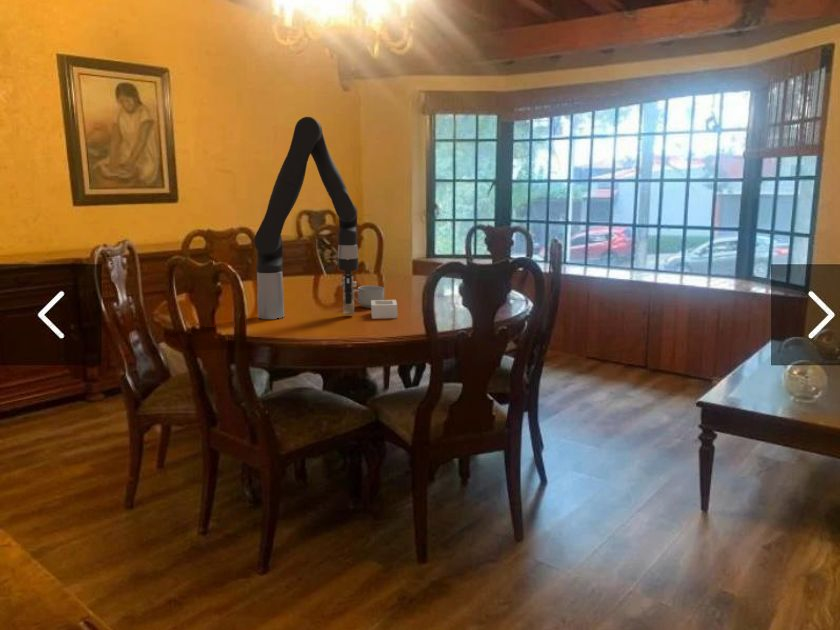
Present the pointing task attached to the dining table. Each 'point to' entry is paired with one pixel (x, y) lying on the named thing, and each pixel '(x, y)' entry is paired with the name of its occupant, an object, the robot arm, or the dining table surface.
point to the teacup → (369, 295)
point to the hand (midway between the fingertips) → (348, 302)
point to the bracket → (347, 308)
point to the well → (383, 309)
